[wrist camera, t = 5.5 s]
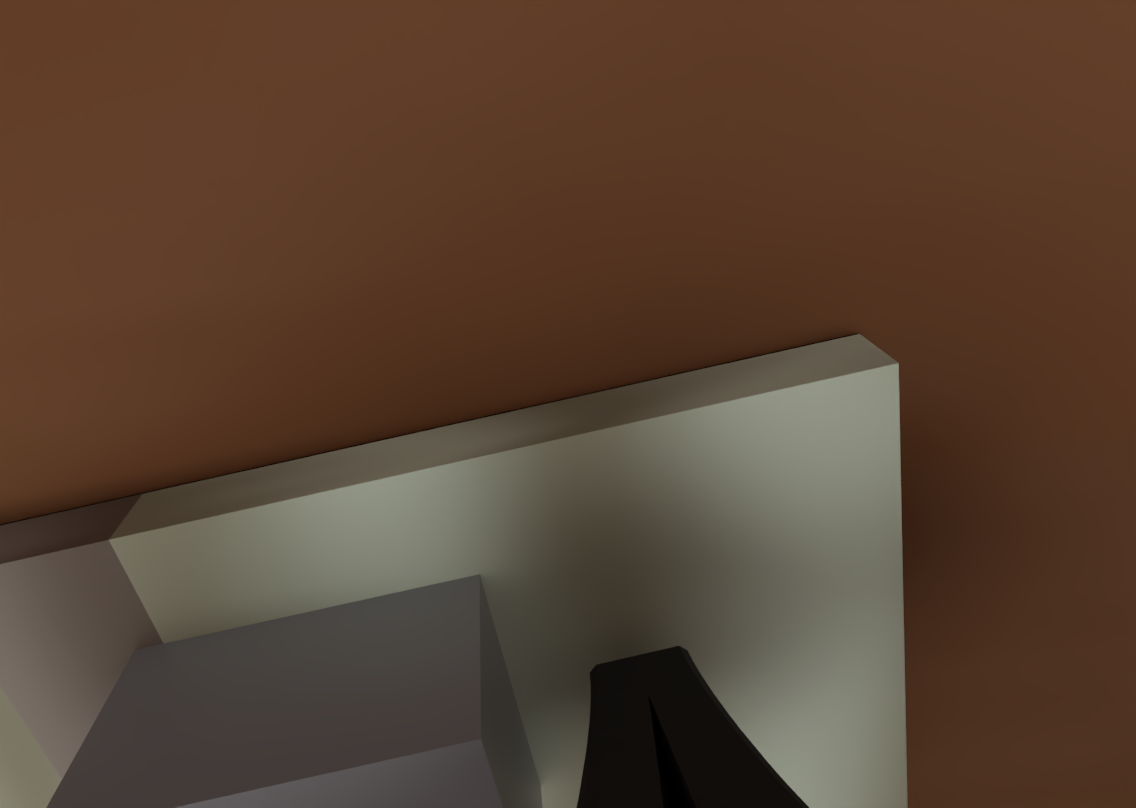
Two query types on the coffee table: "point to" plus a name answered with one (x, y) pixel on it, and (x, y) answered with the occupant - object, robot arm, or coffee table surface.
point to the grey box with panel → (317, 714)
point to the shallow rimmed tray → (531, 564)
